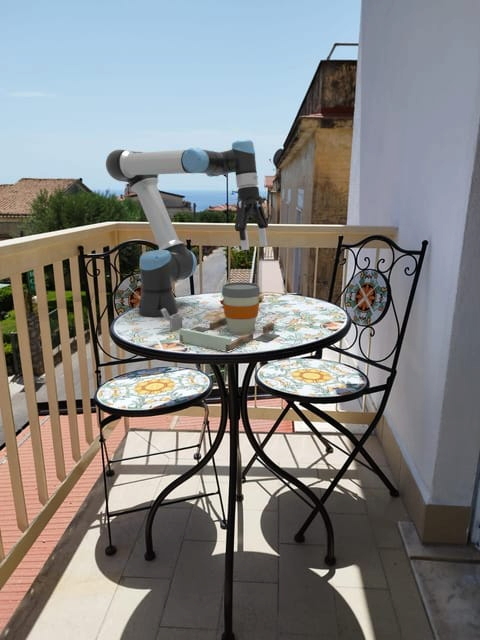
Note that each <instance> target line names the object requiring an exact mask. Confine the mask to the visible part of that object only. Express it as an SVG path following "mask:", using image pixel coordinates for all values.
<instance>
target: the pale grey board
mask: <svg viewBox="0 0 480 640" xmlns="http://www.w3.org/2000/svg"><path fill="white" fill-rule="evenodd" d="M178 331H179V336H180V335H183V342H182V343H184V344H188V345H194V346H198V347H202V346H203V347H204V348H207V347H209V348H208V349H211V348H213V350H216V349H219V350H218V351H220V350H225V351H226V345H231V344H232V341H233V339H232V337H230V336H229V337H228V336H224V335H223V336H222V335H219V334H213V333H207V332H198V331H193V330H190V329H188V328H181V329H179V330H178ZM225 351H224V352H225Z"/></svg>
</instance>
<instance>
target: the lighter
mask: <svg viewBox="0 0 480 640" xmlns="http://www.w3.org/2000/svg"><path fill="white" fill-rule="evenodd" d="M161 312H162V314H163V316H162V317H164V319H165V321H167V322H169V331H171V332H175V331H179V329H181V328H183V326H184V325H183V316H181V315H180V314H179V313H175V314H172V317H171V315H169V313H168V312H167V310H166V309H165V308H163V309H162V310H161ZM183 329H184V328H183Z"/></svg>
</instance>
